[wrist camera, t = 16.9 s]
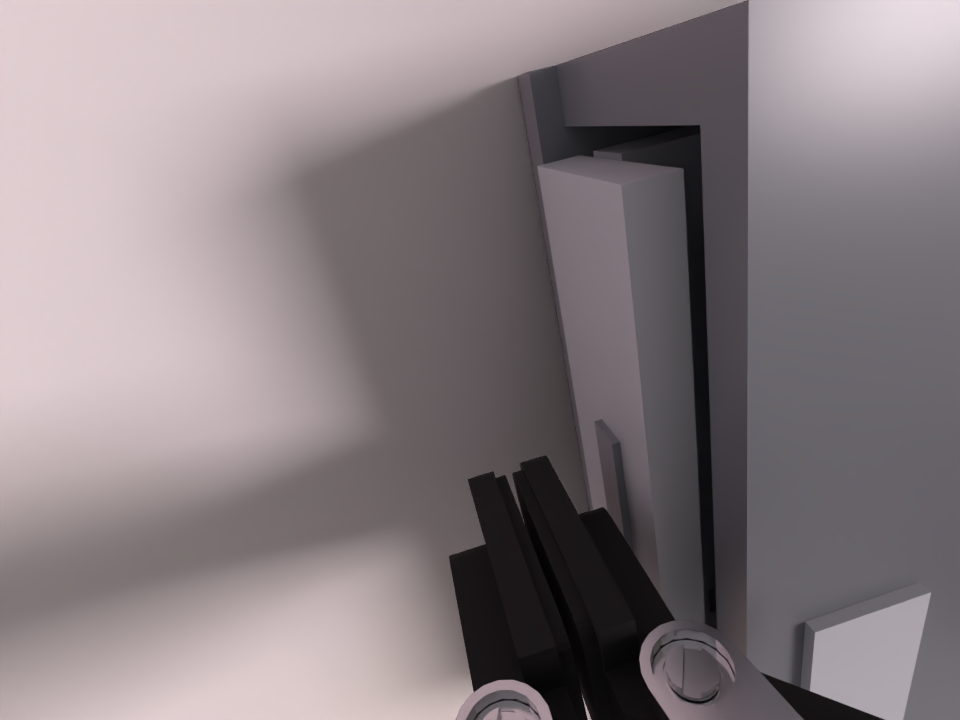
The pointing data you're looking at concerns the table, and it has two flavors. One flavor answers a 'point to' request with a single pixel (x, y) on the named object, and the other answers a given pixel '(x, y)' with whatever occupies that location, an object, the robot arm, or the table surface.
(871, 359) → the box
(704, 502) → the tray
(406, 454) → the table surface
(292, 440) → the table surface
